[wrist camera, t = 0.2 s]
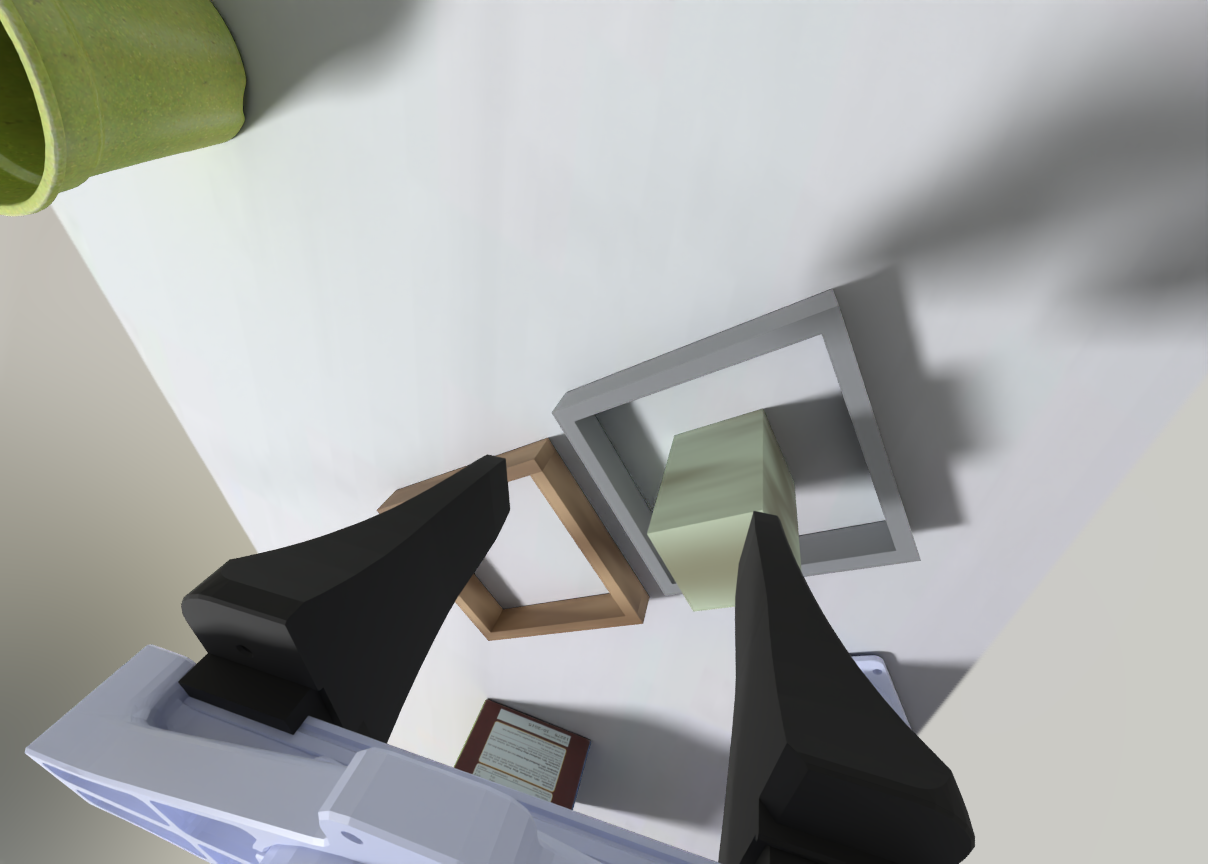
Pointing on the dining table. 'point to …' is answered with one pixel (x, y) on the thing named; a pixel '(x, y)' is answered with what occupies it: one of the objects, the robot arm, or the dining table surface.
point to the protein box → (525, 754)
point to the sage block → (719, 504)
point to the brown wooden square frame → (589, 535)
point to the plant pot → (108, 90)
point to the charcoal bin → (718, 352)
